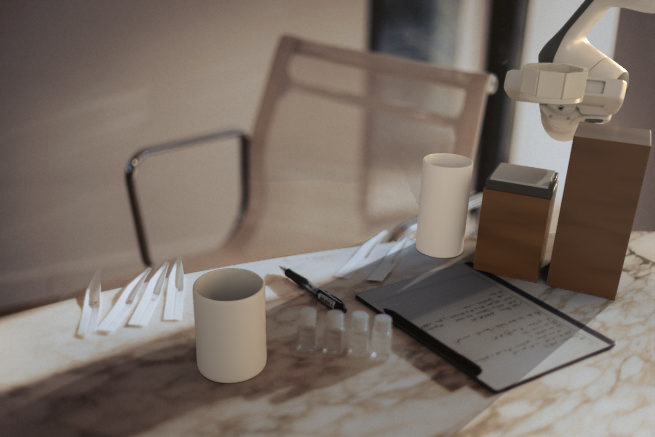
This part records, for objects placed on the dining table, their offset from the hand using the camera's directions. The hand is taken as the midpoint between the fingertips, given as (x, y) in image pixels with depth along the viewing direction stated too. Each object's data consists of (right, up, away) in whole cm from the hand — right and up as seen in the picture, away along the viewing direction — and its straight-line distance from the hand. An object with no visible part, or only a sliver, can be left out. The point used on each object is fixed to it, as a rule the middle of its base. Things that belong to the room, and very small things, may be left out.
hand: (562, 73), depth 104 cm
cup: (-20, -30, +5) cm, 36 cm away
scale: (-9, -19, -5) cm, 21 cm away
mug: (-52, -42, -26) cm, 71 cm away
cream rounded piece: (-3, -4, -5) cm, 7 cm away
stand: (-4, -33, -2) cm, 33 cm away
